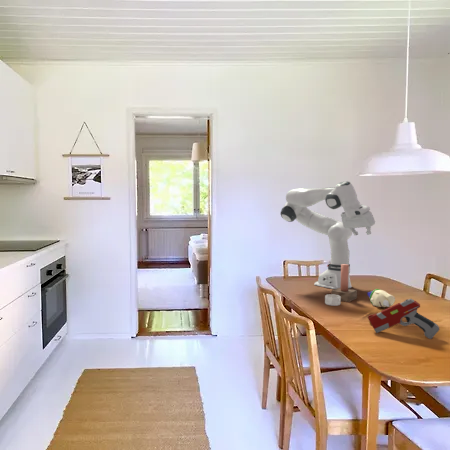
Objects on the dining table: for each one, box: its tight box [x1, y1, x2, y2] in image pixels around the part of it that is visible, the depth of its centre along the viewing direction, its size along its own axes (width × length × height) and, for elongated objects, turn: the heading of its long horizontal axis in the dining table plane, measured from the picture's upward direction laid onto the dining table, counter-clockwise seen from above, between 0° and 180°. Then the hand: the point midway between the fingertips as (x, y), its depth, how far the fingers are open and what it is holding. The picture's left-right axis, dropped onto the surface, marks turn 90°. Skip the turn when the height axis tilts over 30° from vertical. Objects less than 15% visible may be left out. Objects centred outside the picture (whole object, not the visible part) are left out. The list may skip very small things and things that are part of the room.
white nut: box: [324, 293, 342, 307], centre depth 214 cm, size 7×7×5 cm
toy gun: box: [367, 298, 440, 340], centre depth 167 cm, size 4×22×18 cm
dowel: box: [340, 264, 350, 291], centre depth 224 cm, size 4×4×14 cm
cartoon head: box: [366, 288, 396, 308], centre depth 211 cm, size 9×10×20 cm
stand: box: [331, 288, 358, 303], centre depth 224 cm, size 10×10×5 cm
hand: (362, 234), depth 221 cm, fingers open, 8 cm apart
